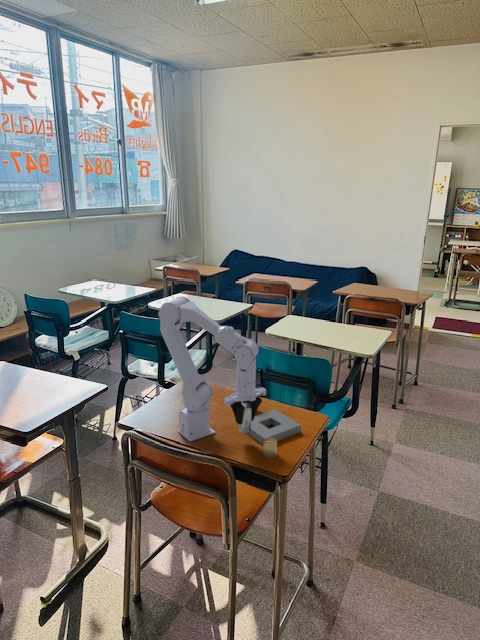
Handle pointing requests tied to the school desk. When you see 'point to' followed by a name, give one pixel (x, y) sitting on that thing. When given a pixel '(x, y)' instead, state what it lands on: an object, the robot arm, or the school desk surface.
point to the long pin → (246, 419)
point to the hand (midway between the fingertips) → (244, 421)
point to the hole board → (280, 431)
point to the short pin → (270, 447)
